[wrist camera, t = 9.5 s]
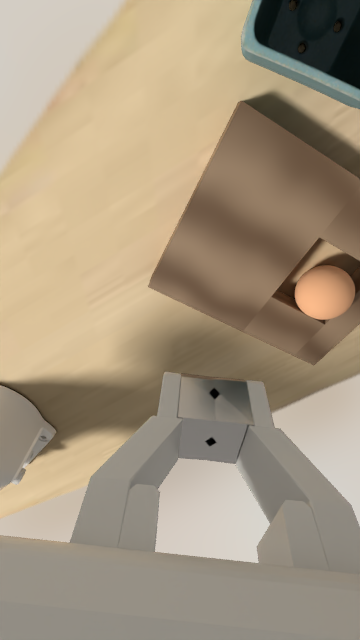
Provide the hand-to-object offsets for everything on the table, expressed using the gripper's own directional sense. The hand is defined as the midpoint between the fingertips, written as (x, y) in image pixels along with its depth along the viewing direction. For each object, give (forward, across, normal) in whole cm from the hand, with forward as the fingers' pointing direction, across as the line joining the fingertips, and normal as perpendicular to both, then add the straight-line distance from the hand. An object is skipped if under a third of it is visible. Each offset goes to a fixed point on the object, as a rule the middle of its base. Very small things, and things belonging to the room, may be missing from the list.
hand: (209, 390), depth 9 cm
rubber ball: (+18, -12, +5) cm, 22 cm away
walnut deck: (+21, -8, +3) cm, 22 cm away
